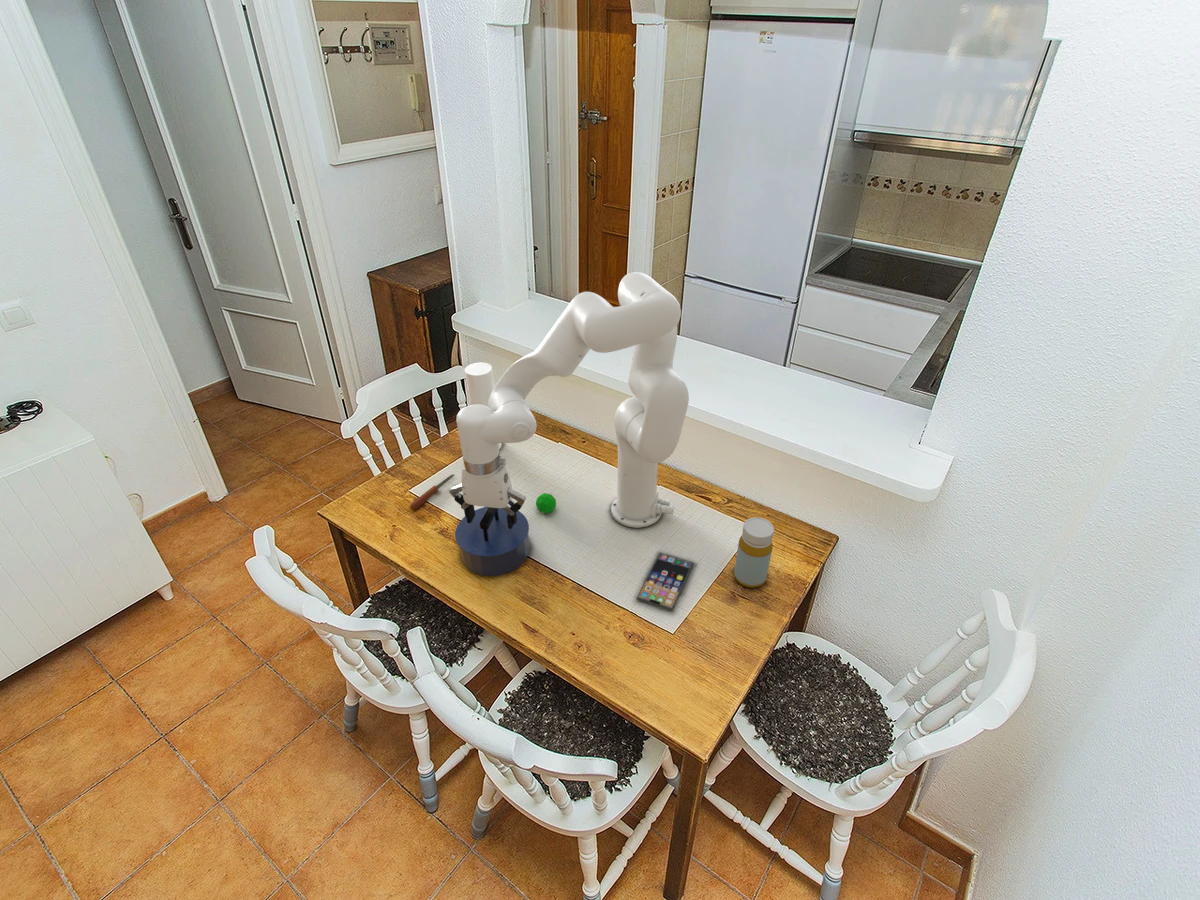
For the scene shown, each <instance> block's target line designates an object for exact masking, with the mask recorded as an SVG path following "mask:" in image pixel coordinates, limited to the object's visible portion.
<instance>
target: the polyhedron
mask: <svg viewBox="0 0 1200 900" xmlns="http://www.w3.org/2000/svg"><path fill="white" fill-rule="evenodd" d="M535 507H536V509H537V510H539V512H540V513H543V514H550V513H552V512H553V511H554V510H555V509H556V507H557V500H556V498H555V497H554V496H553V495H552V494H551V493H546V492H544V493H542V494H540V495H538V496H537V498H536V500H535Z"/></svg>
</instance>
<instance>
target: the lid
mask: <svg viewBox="0 0 1200 900" xmlns="http://www.w3.org/2000/svg"><path fill="white" fill-rule="evenodd" d="M507 514H508V513H507V512H506V511H505V510H504V509H503V508H492V507H484V506H482V507H480V508H477V509H475V517H474V518H473V520H472V522H471V523H467V518H466V517H465V516H464V517H462V518H461V520H460V521H459V522H458V524H457V525H456V528H455V531H454V539H455V542H456V544H457V546H458V548H459V547H460V548H461V549H462V550H463V551H464V552H466V553H468V554H470V555H473V556H477V557H497V556H501V555H504V554H507V553H509V552H511V551H513V550H515V549H516V548H518V547H519V546H520V545H521V544H522V543H523V542H524V541H525V539H526V537H527V535H528V536H529V531H530V526H529V525H530V524H529V521H528V518H527V517H526V516H525V515H524V513H522V512H521V511H520V510H518V511H517V512H516V515H517V522H516V524H514V525H513V527H512V529H509V528H508V523H507ZM460 548H459V549H460Z"/></svg>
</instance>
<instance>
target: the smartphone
mask: <svg viewBox="0 0 1200 900" xmlns="http://www.w3.org/2000/svg"><path fill="white" fill-rule="evenodd" d="M694 563H695V562H693V561H690V560H686V559H683V558H679V557H676V556H673V555H670V554H666V553H663V552H659V553H658V555H657V557H656V559H655V561H654V563H653V565H652V567H651V569H650V571H649V573H648V574H647V576H646V579H645V580H644V582H643V584H642V586H641V588H640V590H639V592H638V593H637V596H636V598H635V599H636V601H639V602H642V603H646V604H648V605H652V606H654V607H657V608H661V609H664V610H666V611H669V612H673V611H674V609H675V607H676V604H677V602H678V600H679V597H680V595H681V593H682V591H683V588H684V586H685V585H686V583H687V582H686V581H687V580H688V578H689V576H690V573H691V571H692V569H693V567H694Z"/></svg>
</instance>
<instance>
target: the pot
mask: <svg viewBox="0 0 1200 900" xmlns="http://www.w3.org/2000/svg"><path fill="white" fill-rule="evenodd" d="M529 540H530V539H529V534H528V535H527V537H526V539H525V541H524V542H523V543H522V544H521V545H520V546H519V547H518V548H516V549H515V550H513V551H511V552H509V553H507V554H504V555H501V556H497V557H477V556H473V555H470V554H468V553H466V552H464V551H463V550H462V549H461V548H460V547H459V546H458V548H459V553H460V558H461V560H462V563H463V565H464V566H465V567H466V568H467V569H468V570H469V571H470V572H472V573H475V574H476V575H480V576H485V577H497V576H501V575H505V574H509V573H511V572H513V571H515V570H516V569H518V568H519V567H521V566H522V565H523V564H524V562H525V561H526V560H527V558H528V556H529V553H530V541H529Z"/></svg>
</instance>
